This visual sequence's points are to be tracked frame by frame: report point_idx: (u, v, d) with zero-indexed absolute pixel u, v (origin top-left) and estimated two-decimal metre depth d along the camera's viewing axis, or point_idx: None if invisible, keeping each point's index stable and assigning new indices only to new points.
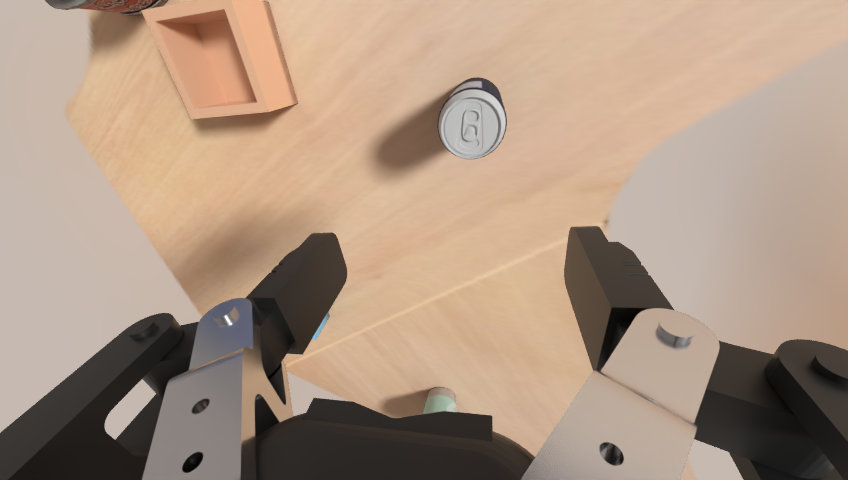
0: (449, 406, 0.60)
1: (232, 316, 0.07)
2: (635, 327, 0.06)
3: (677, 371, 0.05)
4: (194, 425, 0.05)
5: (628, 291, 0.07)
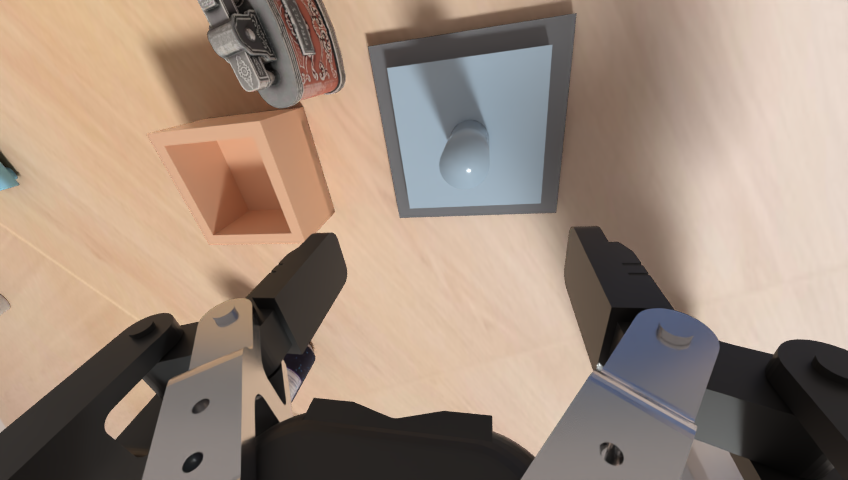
0: None
1: (232, 315, 0.07)
2: (635, 327, 0.06)
3: (677, 371, 0.05)
4: (194, 425, 0.05)
5: (628, 291, 0.07)
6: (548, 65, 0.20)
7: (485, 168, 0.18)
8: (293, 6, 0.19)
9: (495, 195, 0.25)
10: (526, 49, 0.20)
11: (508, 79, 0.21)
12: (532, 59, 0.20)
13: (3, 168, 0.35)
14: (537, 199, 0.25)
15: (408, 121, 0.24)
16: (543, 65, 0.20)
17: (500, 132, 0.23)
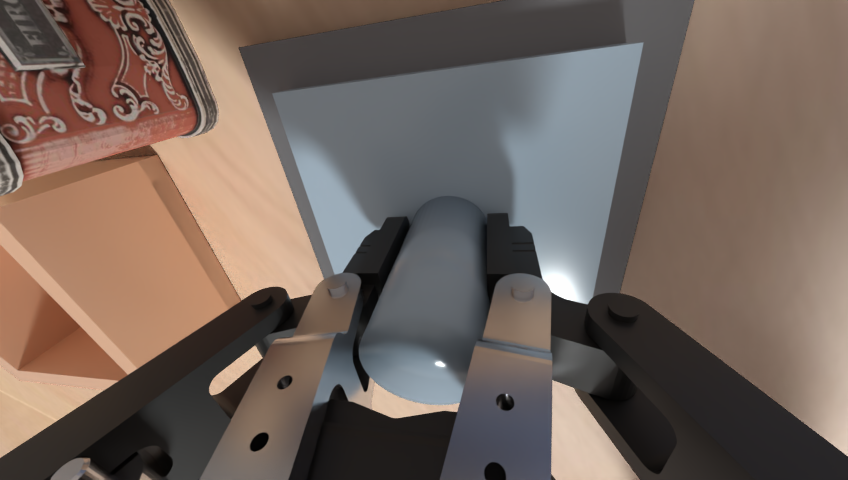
0: None
1: (342, 290, 0.08)
2: (495, 287, 0.07)
3: (531, 318, 0.06)
4: (273, 400, 0.05)
5: (506, 262, 0.08)
6: (627, 91, 0.09)
7: None
8: None
9: None
10: (577, 54, 0.08)
11: (531, 120, 0.09)
12: (590, 77, 0.09)
13: None
14: None
15: (330, 194, 0.12)
16: (615, 91, 0.09)
17: (512, 221, 0.11)
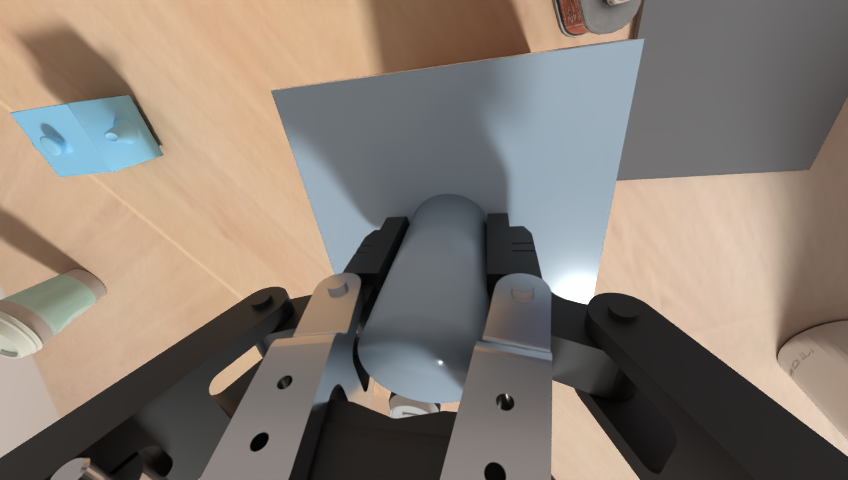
0: (84, 308, 0.48)
1: (341, 290, 0.08)
2: (495, 287, 0.07)
3: (531, 318, 0.06)
4: (274, 400, 0.05)
5: (506, 262, 0.08)
6: (628, 88, 0.09)
7: None
8: None
9: None
10: (578, 50, 0.08)
11: (532, 117, 0.09)
12: (591, 74, 0.09)
13: (151, 136, 0.33)
14: None
15: (329, 192, 0.12)
16: (616, 88, 0.09)
17: (512, 219, 0.11)
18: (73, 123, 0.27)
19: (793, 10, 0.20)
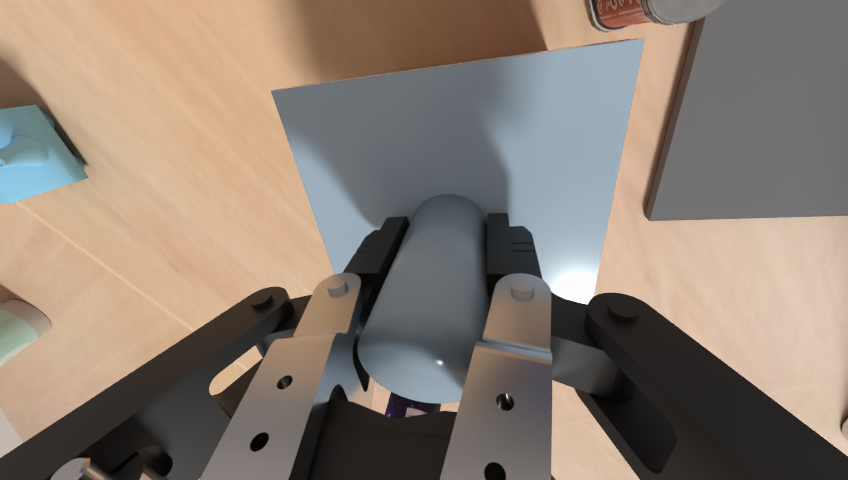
0: (21, 346, 0.42)
1: (342, 290, 0.08)
2: (495, 287, 0.07)
3: (531, 318, 0.06)
4: (274, 400, 0.05)
5: (505, 262, 0.08)
6: (628, 88, 0.09)
7: None
8: None
9: None
10: (578, 50, 0.08)
11: (532, 117, 0.09)
12: (591, 74, 0.09)
13: (70, 155, 0.26)
14: None
15: (329, 192, 0.12)
16: (616, 88, 0.09)
17: (512, 219, 0.11)
18: None
19: None
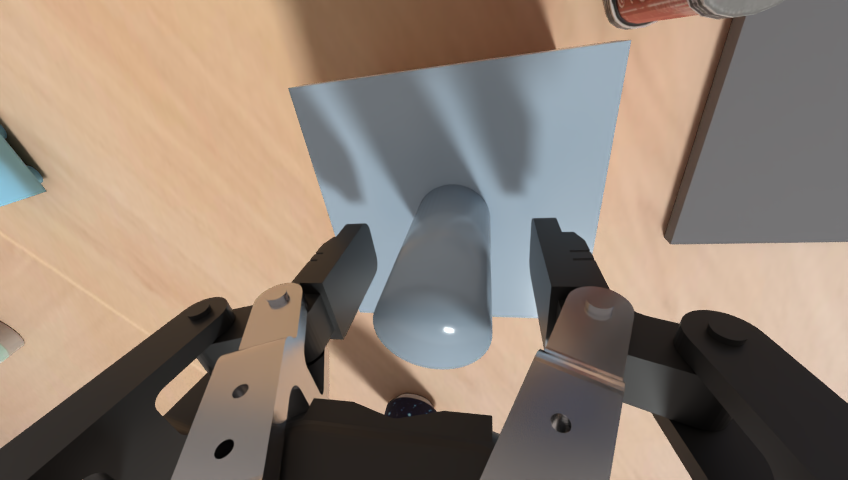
0: None
1: (283, 300, 0.08)
2: (566, 302, 0.06)
3: (605, 339, 0.06)
4: (232, 409, 0.05)
5: (569, 273, 0.07)
6: (617, 85, 0.09)
7: (482, 340, 0.08)
8: None
9: (501, 303, 0.15)
10: (571, 51, 0.09)
11: (529, 112, 0.10)
12: (583, 72, 0.09)
13: (24, 167, 0.24)
14: None
15: (341, 183, 0.13)
16: (606, 85, 0.09)
17: (511, 208, 0.12)
18: None
19: None
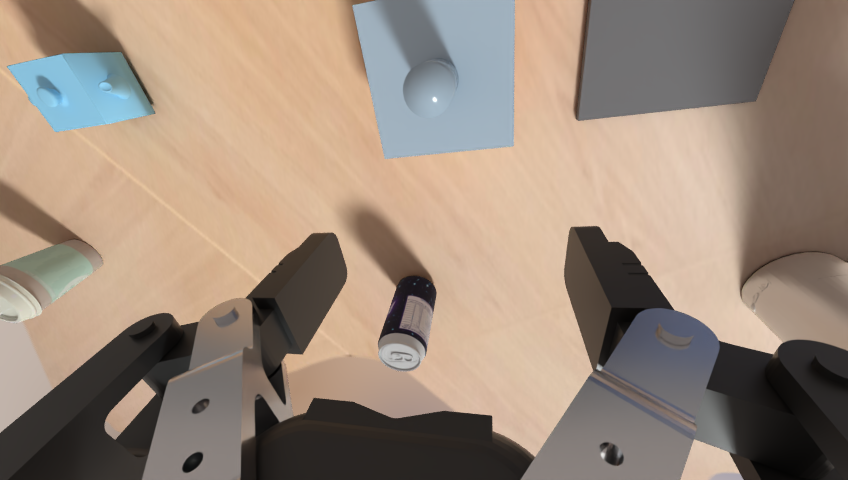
0: (81, 277, 0.49)
1: (232, 316, 0.07)
2: (635, 327, 0.06)
3: (677, 371, 0.05)
4: (194, 425, 0.05)
5: (628, 291, 0.07)
6: None
7: (448, 93, 0.18)
8: None
9: (468, 140, 0.25)
10: None
11: (473, 11, 0.21)
12: None
13: (143, 94, 0.34)
14: (510, 142, 0.25)
15: (377, 63, 0.23)
16: None
17: (469, 70, 0.23)
18: (68, 74, 0.29)
19: None
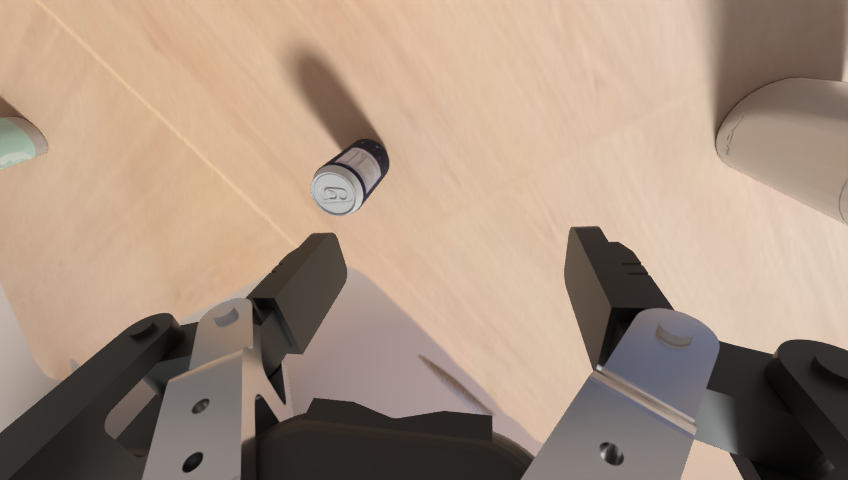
0: (21, 154, 0.47)
1: (232, 316, 0.07)
2: (635, 327, 0.06)
3: (677, 371, 0.05)
4: (194, 425, 0.05)
5: (628, 291, 0.07)
6: None
7: None
8: None
9: None
10: None
11: None
12: None
13: None
14: None
15: None
16: None
17: None
18: None
19: None
